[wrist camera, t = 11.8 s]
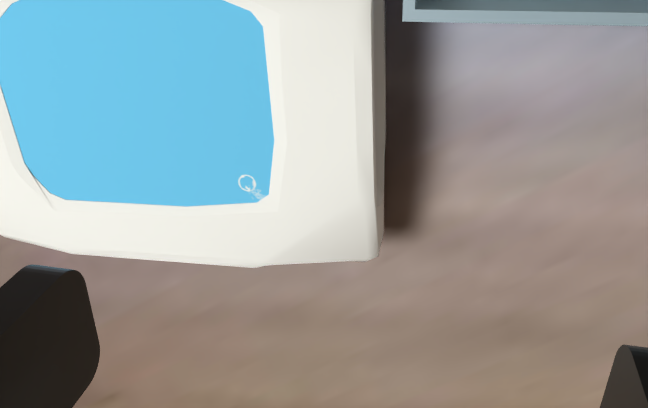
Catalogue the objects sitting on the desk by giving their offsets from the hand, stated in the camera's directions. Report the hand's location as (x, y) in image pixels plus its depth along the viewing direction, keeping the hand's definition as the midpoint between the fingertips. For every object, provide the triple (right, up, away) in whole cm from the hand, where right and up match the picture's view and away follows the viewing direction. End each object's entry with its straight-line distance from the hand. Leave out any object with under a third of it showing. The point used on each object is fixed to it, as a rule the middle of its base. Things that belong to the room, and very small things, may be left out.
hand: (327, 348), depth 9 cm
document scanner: (-10, +11, +32) cm, 35 cm away
